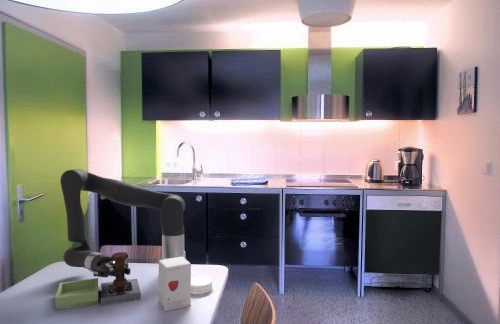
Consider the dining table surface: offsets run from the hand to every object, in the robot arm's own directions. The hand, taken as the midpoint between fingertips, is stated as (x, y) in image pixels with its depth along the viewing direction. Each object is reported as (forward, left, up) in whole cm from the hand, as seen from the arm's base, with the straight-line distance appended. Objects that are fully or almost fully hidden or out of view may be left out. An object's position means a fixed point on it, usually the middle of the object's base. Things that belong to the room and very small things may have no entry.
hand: (124, 273), depth 129 cm
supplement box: (-16, +13, -9) cm, 22 cm away
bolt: (+1, -2, -9) cm, 9 cm away
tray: (+15, -4, -9) cm, 18 cm away
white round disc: (-27, +4, -9) cm, 28 cm away
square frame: (+1, -2, -9) cm, 9 cm away
